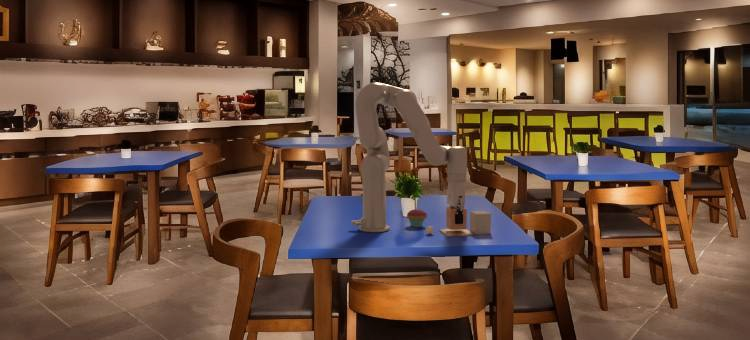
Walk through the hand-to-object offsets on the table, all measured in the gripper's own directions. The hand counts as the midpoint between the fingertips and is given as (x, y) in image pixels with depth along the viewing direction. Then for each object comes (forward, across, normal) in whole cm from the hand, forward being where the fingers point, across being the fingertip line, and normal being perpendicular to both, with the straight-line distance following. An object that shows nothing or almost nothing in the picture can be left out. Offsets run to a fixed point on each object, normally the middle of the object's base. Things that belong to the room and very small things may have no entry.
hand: (456, 221), depth 245 cm
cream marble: (+5, 0, -11) cm, 12 cm away
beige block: (+5, 0, +10) cm, 11 cm away
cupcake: (+5, -17, -12) cm, 21 cm away
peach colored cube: (+2, 0, 0) cm, 2 cm away
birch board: (+5, 0, 0) cm, 5 cm away
